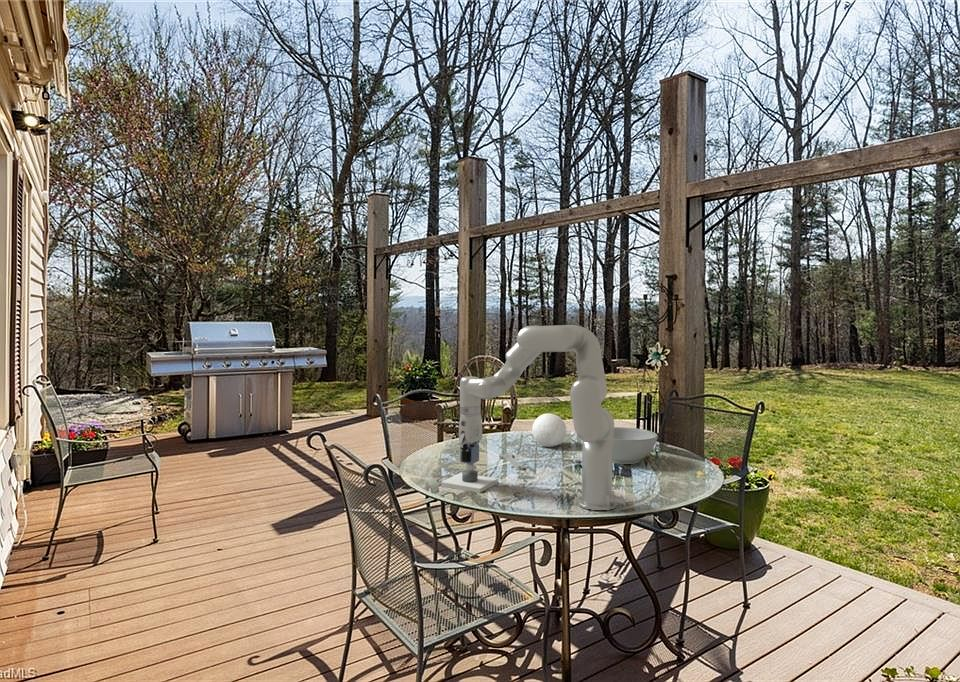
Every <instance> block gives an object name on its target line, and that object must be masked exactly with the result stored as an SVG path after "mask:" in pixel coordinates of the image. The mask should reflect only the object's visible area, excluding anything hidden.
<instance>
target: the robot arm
mask: <svg viewBox="0 0 960 682" xmlns="http://www.w3.org/2000/svg"><path fill="white" fill-rule="evenodd" d="M571 351H572V352H574V353H575V355H576V359H575V366H576V372H577V379H575V381H574V382H573V383H572V385H571V387H570V391H569V399H570V407H571V413H572V423H573V428H574V431H575V434H576V435H577V437H578V438H579V439H580V440H581V441H582V449H581V450H582V451H581V452H582V453H581V454H582V455H581V459H582V460H581V463H582V464H581V496H580V497H577V499H576V505H577V506H578V507H580V508H582V509H585V510H588V509H591V510H590V511H594V510H607V511H611V510H610V509H612V510H614V509H616V507H617V505H623V506H624V505H625V503H626V499H625V498H624V497H623V496H619V495H616V494H615V490H613V486H612V485H613V462H612V447H613V435H614V427H615V421H614V420H615V419H614V417H613V415H612V414H611V413H610V411H609V410H607V409H605V408H604V407H602V402H603V401H604V400H605V399H606V397H607V393H608V390H607V389H608V387H607V381H606V375H605V369H604V362H603V356H602V355H603V354H602V349H601V344H600V342H599V339H598V338H597V336H596V335H595V334H594V333H593V332H592V331H591V330H590V329H588V328H587V327H583V326H581V325H576V324H567V325H566V324H559V325H527V326H523V328H521V329H520V330H519V331H518V333H517V336H516V342H515V343H514V344H513V345H512V346H511V348H509V349H508V350H507V352H506V353H505V360H506V361H505V363H504V364H503V366H502V367H501V368H500V369H499V370H498V371H497V372H496V373H495V374H494V375H493V376H488V377H482V378H479V377H477V376H473V375H471V376H462V377H461V378H460V380H459V423H458V443H457V444H458V446H459V447H460V448H461V451H462V462H468V463H469V462H470V451H469V448H470V444H472V443H477V444H478V445H479V446H480V444H479V443H480V441H481V440H482V439H483V422H482V420H483V419H482V415H481V414H482V413H481V409H482V408H481V403H482V402H481V401H482V400H490V399H494V398H496V397H497V398H498V397H500V396H503V395H504V394H505V393H506V392H507V391H509V389H511V388H512V386H513V385H514V384H515V383H517V381H518V379H520V377H521V375H522V374H523V372H524V370H526V368H527V367H528V366H529V365H531V363H532V362H534V361H535V360H536V358H537V357H538V356H539V355H540V354H542V353H555V352H557V353H563V352H571ZM481 399H482V400H481ZM465 444H467V447H466V445H465ZM462 462H461V463H462Z"/></svg>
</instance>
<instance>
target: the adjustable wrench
mask: <svg viewBox="0 0 960 682" xmlns="http://www.w3.org/2000/svg"><path fill="white" fill-rule="evenodd" d="M513 455H514V454H513V453H512V452H505V454H504V453H502V452H499V454H498V458H499V459H502V460H506V461H508V462H509V463H510V464H511V465H512V466H513V467H514V468H515V469H516V470H518V471H524V469H525V466H524V465H522V464H521V463H519V462H518V460H516V459H515V458H513V457H514V456H513Z"/></svg>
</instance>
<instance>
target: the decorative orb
mask: <svg viewBox="0 0 960 682" xmlns="http://www.w3.org/2000/svg"><path fill="white" fill-rule="evenodd" d="M564 413H565V412H564ZM531 432H532V436H533V439H534V440H535V441H536V443H537V444H538V445H540V446H542V447H545V448H547V447H548V448H553V447H557V446H558V445H560V444H562V442H563V441H564V440H565V438H566V435H567V426H566V422H565V421H564V420H563V418H561V417H560V416H559V415H557V414H554V413H550V412H548V413H543V414H540V415H539V416H537V418H536V419H535V420H534V422H533V424H532V428H531Z"/></svg>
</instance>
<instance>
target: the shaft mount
mask: <svg viewBox="0 0 960 682" xmlns="http://www.w3.org/2000/svg"><path fill="white" fill-rule="evenodd" d="M498 483H499V478H498V477H490V476H484V475H478V471H477V470H474V463H473V464H469V463H466V470H462V472H460V473H458V474H455V475H452V476H451V477H449V478H447V479H444V480H442V481H440V486H441V487H445V488H450V489H456V490H462V491H465V492H471V493H472V492H473V493H478V494H480V493H482V492H483V491H484V492H485V491H486V490H488V489H489V488H491V487H493V486H494V485H496V484H498Z"/></svg>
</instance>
